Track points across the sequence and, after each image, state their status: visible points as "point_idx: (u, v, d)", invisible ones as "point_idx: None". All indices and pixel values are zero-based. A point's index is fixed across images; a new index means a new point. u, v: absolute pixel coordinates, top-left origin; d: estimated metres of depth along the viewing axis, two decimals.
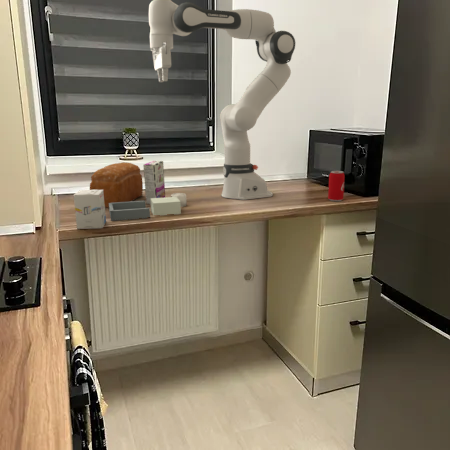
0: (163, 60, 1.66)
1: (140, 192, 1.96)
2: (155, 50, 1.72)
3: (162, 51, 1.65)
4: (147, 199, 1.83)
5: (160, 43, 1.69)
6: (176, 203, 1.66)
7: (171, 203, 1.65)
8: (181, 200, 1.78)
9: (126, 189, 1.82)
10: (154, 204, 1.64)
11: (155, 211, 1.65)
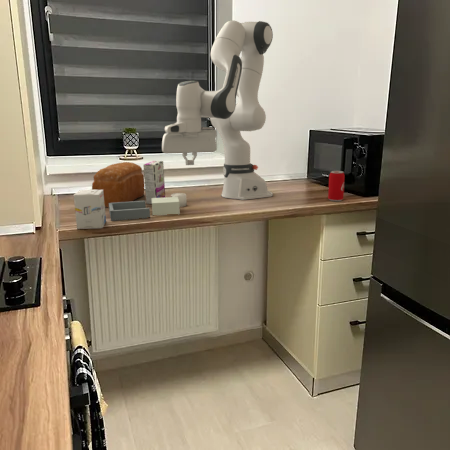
0: None
1: (142, 192, 1.97)
2: (194, 134, 1.63)
3: (215, 136, 1.67)
4: (147, 199, 1.83)
5: (201, 127, 1.65)
6: (175, 203, 1.65)
7: (170, 203, 1.65)
8: (181, 200, 1.78)
9: (129, 189, 1.83)
10: (153, 204, 1.64)
11: (154, 211, 1.65)
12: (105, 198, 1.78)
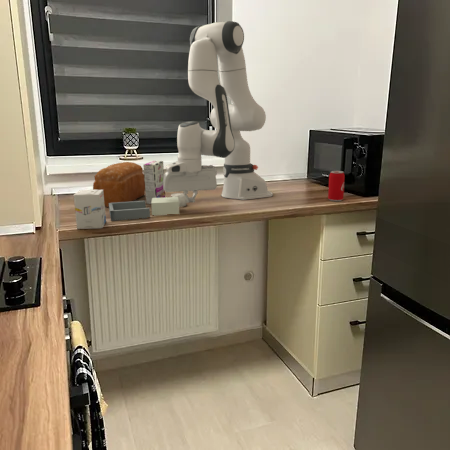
0: None
1: (143, 191, 1.97)
2: (195, 173, 1.67)
3: (215, 175, 1.71)
4: (147, 199, 1.83)
5: (201, 166, 1.68)
6: (174, 203, 1.65)
7: (169, 203, 1.65)
8: (181, 200, 1.78)
9: (129, 188, 1.83)
10: (152, 204, 1.64)
11: (153, 211, 1.65)
12: (106, 198, 1.78)
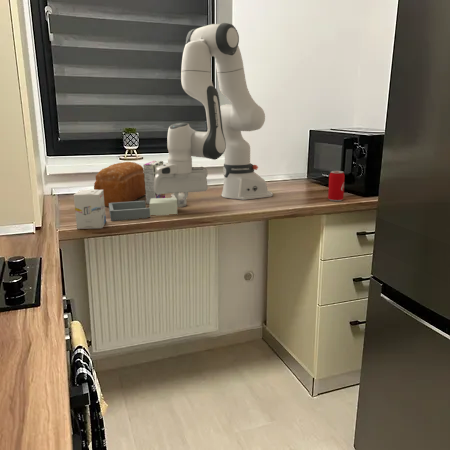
0: None
1: (143, 191, 1.98)
2: (185, 175, 1.66)
3: (205, 176, 1.70)
4: (147, 199, 1.83)
5: (192, 168, 1.67)
6: (172, 204, 1.65)
7: (167, 204, 1.65)
8: None
9: (130, 188, 1.84)
10: (150, 204, 1.64)
11: (151, 211, 1.65)
12: (107, 198, 1.78)
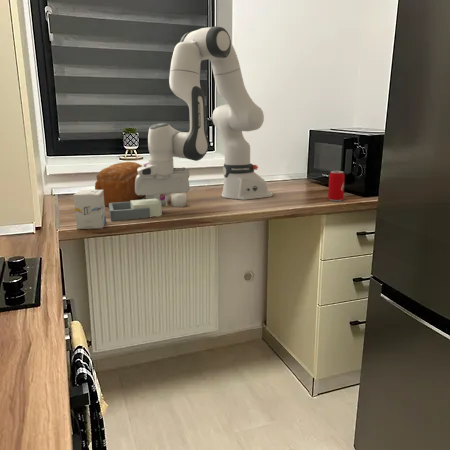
0: None
1: None
2: (167, 176, 1.64)
3: (187, 177, 1.68)
4: None
5: (173, 169, 1.66)
6: (157, 205, 1.63)
7: (152, 205, 1.62)
8: (181, 200, 1.78)
9: (131, 188, 1.84)
10: (134, 206, 1.61)
11: None
12: (108, 197, 1.79)
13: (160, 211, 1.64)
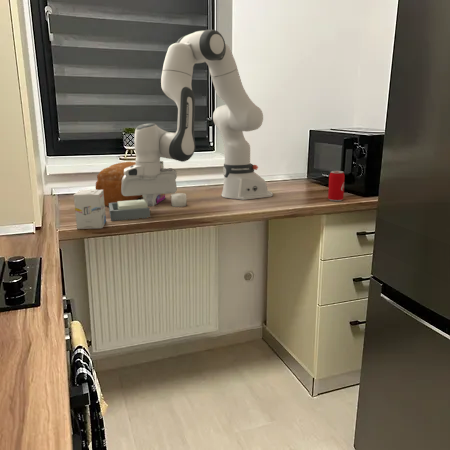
0: None
1: None
2: (153, 176, 1.63)
3: (174, 178, 1.66)
4: (147, 199, 1.83)
5: (160, 169, 1.64)
6: (143, 206, 1.62)
7: (138, 206, 1.61)
8: (181, 200, 1.78)
9: None
10: (120, 207, 1.60)
11: None
12: (108, 197, 1.79)
13: None
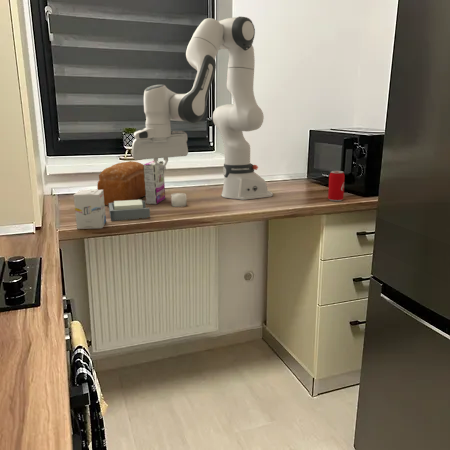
0: (187, 149, 1.66)
1: None
2: (164, 139, 1.61)
3: (185, 140, 1.64)
4: (147, 199, 1.83)
5: (170, 132, 1.62)
6: (138, 206, 1.61)
7: (133, 206, 1.61)
8: (181, 200, 1.78)
9: (133, 187, 1.85)
10: (115, 207, 1.60)
11: None
12: (110, 197, 1.80)
13: None
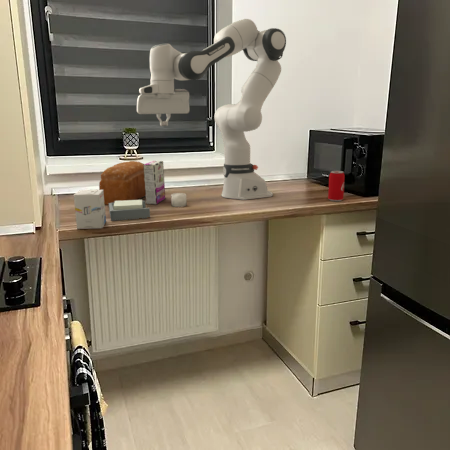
0: None
1: None
2: (167, 95, 1.71)
3: (187, 98, 1.74)
4: (147, 199, 1.83)
5: (174, 89, 1.72)
6: (137, 206, 1.61)
7: (132, 206, 1.61)
8: (181, 200, 1.78)
9: (135, 187, 1.86)
10: (114, 207, 1.60)
11: None
12: (112, 196, 1.81)
13: None
